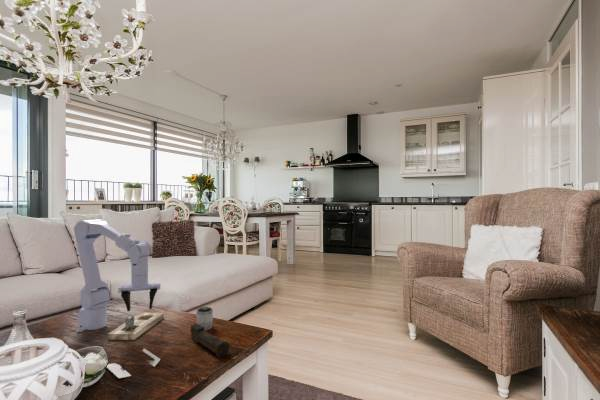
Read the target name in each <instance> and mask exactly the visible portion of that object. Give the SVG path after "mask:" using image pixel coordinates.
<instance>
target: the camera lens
mask: <svg viewBox="0 0 600 400" xmlns="http://www.w3.org/2000/svg"><path fill="white" fill-rule="evenodd" d="M213 310H214V309H213V308H211V307H207V306H203V307H200V308H197V310H196V312H195V313H196V324H198V325H201V326H202V327H204V330H205V331H209V330H211V329H212V328H213V323H214V322H213V321H214V320H213V319H214V314H213V312H214V311H213Z"/></svg>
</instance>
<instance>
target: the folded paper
mask: <svg viewBox="0 0 600 400" xmlns="http://www.w3.org/2000/svg"><path fill="white" fill-rule="evenodd" d="M142 352H143V353H145V354H147V356H149V357H150V358H152V359H153V360H149V359H148V360H145V361H146V362H147V361H148V362H149V363H148V362H147V363H148V364H150V366H153V367H156V365H158V363H159V362H160V360H161V358H160V357H158V356H157V355H155V354H153V353H152V352H151V351H149V350H148V349H146V348H143V349H142ZM117 363H118V362H113V363H108V365H107V364H106V365H107V367H106V368H107V369H108V371H110V372H111V373H113V375H114V376H115V377H117V378H118V379H122V378H127V377H131V376H132V375H131V374H130V372H128V371H127V370H126V369H125V368H126V367H125V365H124V364H123V363H122V364H121V365H120V364H119V363H118V364H117Z"/></svg>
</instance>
